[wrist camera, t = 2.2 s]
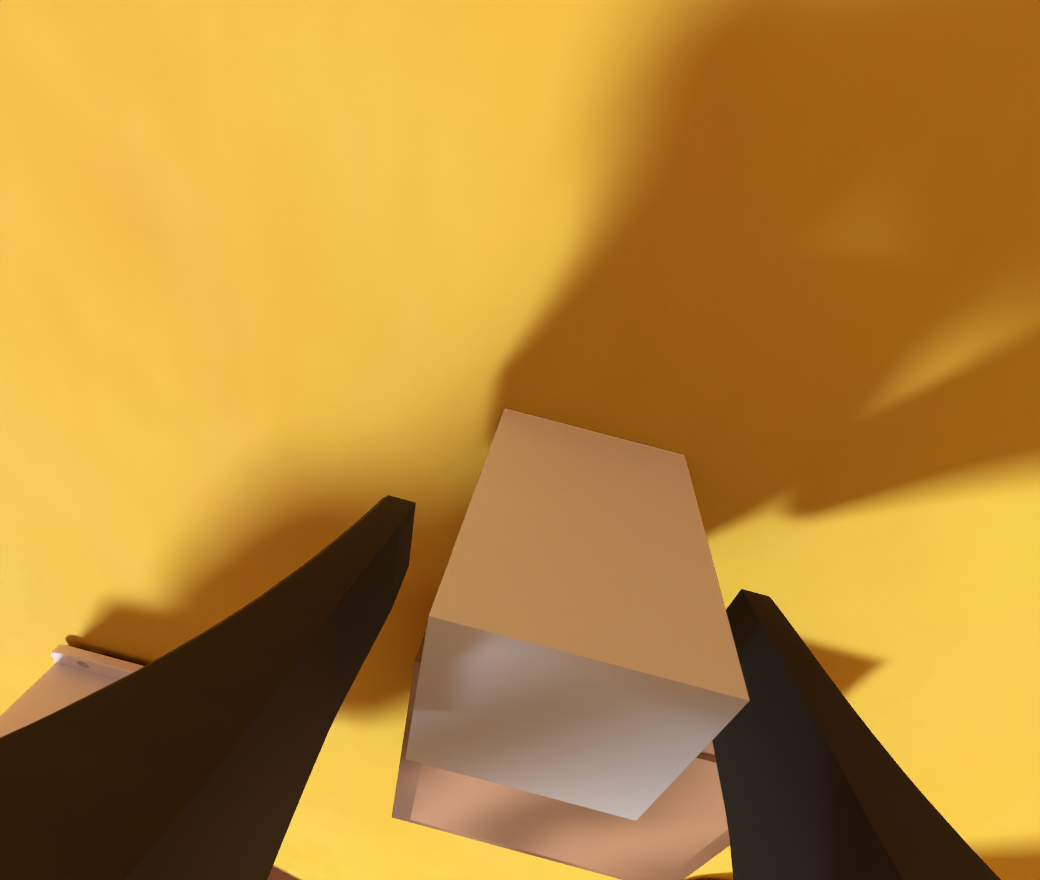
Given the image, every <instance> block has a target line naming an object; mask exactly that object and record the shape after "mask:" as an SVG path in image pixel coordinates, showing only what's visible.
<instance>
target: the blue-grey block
mask: <svg viewBox="0 0 1040 880" xmlns="http://www.w3.org/2000/svg"><path fill="white" fill-rule="evenodd" d="M749 701H750V700H749V696H748V692H747V689H746V685H745V681H744V677H743V673H742V670H741V666H740V662H739V658H738V654H737V651H736V647H735V643H734V639H733V636H732V632H731V628H730V624H729V620H728V617H727V613H726V609H725V605H724V602H723V598H722V594H721V590H720V586H719V583H718V579H717V575H716V571H715V568H714V564H713V560H712V556H711V552H710V549H709V545H708V541H707V537H706V534H705V530H704V526H703V522H702V518H701V515H700V511H699V507H698V503H697V499H696V496H695V492H694V488H693V484H692V481H691V477H690V473H689V469H688V465H687V462H686V458H685V455H683V454H679V453H675V452H671V451H668V450H664V449H660V448H656V447H652V446H648V445H645V444H641V443H637V442H633V441H629V440H625V439H622V438H618V437H614V436H610V435H606V434H602V433H599V432H595V431H591V430H587V429H583V428H579V427H575V426H572V425H568V424H564V423H560V422H556V421H552V420H549V419H545V418H541V417H537V416H533V415H529V414H526V413H522V412H518V411H514V410H510V409H506V408H504V411H503V414H502V417H501V419H500V422H499V425H498V428H497V430H496V433H495V436H494V439H493V441H492V444H491V447H490V449H489V452H488V455H487V458H486V460H485V463H484V466H483V469H482V471H481V474H480V477H479V480H478V482H477V485H476V488H475V490H474V493H473V496H472V499H471V501H470V504H469V507H468V510H467V512H466V515H465V518H464V521H463V523H462V526H461V529H460V531H459V534H458V537H457V540H456V542H455V545H454V548H453V551H452V553H451V556H450V559H449V562H448V564H447V567H446V570H445V572H444V575H443V578H442V581H441V583H440V586H439V589H438V592H437V594H436V597H435V600H434V603H433V605H432V608H431V611H430V613H429V617H428V623H427V629H426V635H425V641H424V647H423V654H422V660H421V666H420V672H419V678H418V684H417V690H416V697H415V703H414V709H413V715H412V721H411V727H410V733H409V740H408V746H407V752H406V758H405V759H406V760H410V761H414V762H418V763H421V764H425V765H429V766H433V767H436V768H440V769H444V770H448V771H451V772H455V773H459V774H463V775H466V776H470V777H474V778H478V779H481V780H485V781H489V782H493V783H496V784H500V785H504V786H507V787H511V788H515V789H519V790H522V791H526V792H530V793H534V794H537V795H541V796H545V797H549V798H552V799H556V800H560V801H564V802H567V803H571V804H575V805H579V806H582V807H586V808H590V809H594V810H597V811H601V812H605V813H608V814H612V815H616V816H620V817H623V818H627V819H631V820H635V821H636V820H637V819H638V818H639V817H640V816H641V815H642V814H643V813H644V812H645V811H646V810H647V809H648V808H649V807H650V806H651V805H652V804H653V802H654V801H655V800H656V799H657V798H658V797H659V796H660V795H661V794H662V793H663V792H664V791H665V790H666V789H667V788H668V787H669V786H670V784H671V783H672V782H673V781H674V780H675V779H676V778H677V777H678V776H679V775H680V774H681V773H682V772H683V771H684V770H685V769H686V768H687V767H688V765H689V764H690V763H691V762H692V761H693V760H694V759H695V758H696V757H697V756H698V755H699V754H700V753H701V752H702V751H703V750H704V749H705V747H706V746H707V745H708V744H709V743H710V742H711V741H712V740H713V739H714V738H715V737H716V736H717V735H718V734H719V733H720V732H721V731H722V729H723V728H724V727H725V726H726V725H727V724H728V723H729V722H730V721H731V720H732V719H733V718H734V717H735V716H736V715H737V714H738V713H739V712H740V710H741V709H742V708H743V707H744V706H745V705H746V704H747V703H748V702H749Z"/></svg>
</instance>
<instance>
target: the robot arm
mask: <svg viewBox="0 0 1040 880" xmlns="http://www.w3.org/2000/svg"><path fill="white" fill-rule="evenodd" d="M415 504H416V503H415V502H411V501H407V500H404V499H400V498H396V497H392V496H389V495H388V496H386V497H384V498H383V499H382V500H381V501H379V502H378V503H377V504H376V505H375V506H374V507H373V508H372V509H371V510H370V511H369V512H367V513H366V514H365V515H364V516H363V517H362V518H361V519H360V520H358V521H357V522H356V523H355V524H354V525H353V526H351V527H350V528H349V529H348V530H347V531H346V532H344V533H343V534H342V535H341V536H340V537H338V538H337V539H336V540H335V541H333V542H332V543H331V544H330V545H328V546H327V547H326V548H325V549H323V550H322V551H321V552H320V553H318V554H317V555H316V556H315V557H313V558H312V559H311V560H310V561H308V562H307V563H306V564H304V565H303V566H302V567H300V568H299V569H297V570H296V571H295V572H293V573H292V574H291V575H289V576H288V577H286V578H285V579H284V580H282V581H281V582H279V583H278V584H277V585H275V586H274V587H273V588H271V589H270V590H268V591H267V592H266V593H264V594H263V595H261V596H260V597H258V598H257V599H255V600H254V601H252V602H251V603H249V604H248V605H246V606H245V607H243V608H242V609H240V610H239V611H237V612H236V613H234V614H233V615H231V616H229V617H228V618H226V619H225V620H223V621H221V622H220V623H218V624H217V625H215V626H213V627H212V628H210V629H208V630H207V631H205V632H204V633H202V634H200V635H198V636H197V637H195V638H193V639H191V640H190V641H188V642H186V643H185V644H183V645H181V646H179V647H178V648H176V649H174V650H172V651H171V652H169V653H167V654H166V655H164V656H162V657H160V658H159V659H157V660H155V661H153V662H151V663H149V664H148V665H146V666H142V665H139V664H135V663H131V662H128V661H124V660H120V659H116V658H113V657H109V656H105V655H102V654H98V653H94V652H90V651H87V650H83V649H79V648H75V647H72V646H68V645H59V646H57V647H56V648H55V649H54V650H53V651H52V652H51V656H52V658H53V659H54V661H55V663H56V664H55V665H54V666H52V667H51V668H50V669H49V670H48V671H47V672H46V673H45V674H44V675H43V676H42V677H41V678H40V679H39V680H38V681H37V682H36V683H35V684H34V685H33V686H31V687H30V688H29V689H28V690H27V691H26V692H25V693H24V694H23V695H22V696H21V697H20V698H19V699H18V700H17V701H16V702H15V703H14V704H13V705H12V706H10V707H9V708H8V709H7V710H6V711H5V712H4V713H3V714H2V715H1V716H0V880H267V879H268V876H269V874H270V871H271V869H272V866H273V864H274V861H275V859H276V856H277V854H278V851H279V849H280V846H281V844H282V841H283V839H284V836H285V834H286V832H287V829H288V827H289V824H290V822H291V819H292V817H293V815H294V812H295V810H296V807H297V805H298V802H299V800H300V798H301V795H302V793H303V790H304V788H305V785H306V783H307V781H308V778H309V776H310V774H311V771H312V769H313V766H314V764H315V762H316V759H317V757H318V755H319V752H320V750H321V748H322V745H323V743H324V741H325V738H326V736H327V733H328V731H329V729H330V727H331V725H332V723H333V721H334V719H335V717H336V714H337V712H338V710H339V708H340V706H341V704H342V702H343V701H344V699H345V697H346V695H347V693H348V691H349V689H350V687H351V685H352V683H353V682H354V680H355V678H356V676H357V674H358V672H359V670H360V668H361V666H362V664H363V663H364V661H365V659H366V657H367V655H368V653H369V651H370V649H371V647H372V646H373V644H374V642H375V640H376V638H377V636H378V634H379V632H380V630H381V628H382V626H383V624H384V623H385V621H386V619H387V617H388V615H389V613H390V611H391V609H392V607H393V604H394V602H395V599H396V597H397V594H398V592H399V589H400V587H401V584H402V581H403V579H404V576H405V574H406V571H407V569H408V566H409V557H410V548H411V540H412V531H413V522H414V513H415ZM726 613H727V617H728V620H729V624H730V628H731V632H732V636H733V639H734V643H735V647H736V651H737V654H738V658H739V662H740V666H741V670H742V673H743V677H744V681H745V685H746V689H747V692H748V696H749V700H750V701H749V702H748V703H747V704H746V705H745V706H744V707H743V708H742V709H741V710H740V712H739V713H738V714H737V715H736V716H735V717H734V718H733V719H732V720H731V721H730V722H729V723H728V724H727V725H726V726H725V727H724V728H723V729H722V731H721V732H720V733H719V734H718V735H717V736H716V737H715V738H714V739H713V740H712V742H713V748H714V753H715V758H716V764H717V769H718V774H719V780H720V785H721V790H722V796H723V801H724V806H725V812H726V818H727V825H728V832H729V838H730V847H731V858H732V868H733V878H734V880H1001V879H1000V878H999V877H998V876H997V875H996V874H995V873H994V872H993V871H992V870H991V869H990V868H989V867H988V866H987V865H986V864H985V863H984V862H983V860H982V859H981V858H980V857H979V856H978V855H977V854H976V853H975V852H974V851H973V850H972V849H971V848H970V847H969V845H968V844H967V843H966V842H965V841H964V840H963V839H962V838H961V837H960V835H959V834H958V833H957V832H956V831H955V830H954V829H953V828H952V827H951V825H950V824H949V823H948V822H947V821H946V820H945V819H944V818H943V816H942V815H941V814H940V813H939V812H938V811H937V810H936V809H935V808H934V806H933V805H932V804H931V803H930V802H929V801H928V800H927V799H926V797H925V796H924V795H923V794H922V793H921V792H920V790H919V789H918V788H917V787H916V786H915V785H914V783H913V782H912V781H911V780H910V779H909V778H908V776H907V775H906V774H905V773H904V772H903V770H902V769H901V768H900V767H899V765H898V764H897V763H896V762H895V761H894V759H893V758H892V757H891V756H890V754H889V753H888V752H887V751H886V750H885V748H884V747H883V746H882V745H881V743H880V742H879V741H878V740H877V738H876V737H875V736H874V735H873V734H872V732H871V731H870V730H869V728H868V727H867V726H866V725H865V723H864V722H863V721H862V719H861V718H860V717H859V716H858V714H857V713H856V712H855V710H854V709H853V708H852V707H851V705H850V704H849V703H848V701H847V700H846V699H845V697H844V696H843V695H842V693H841V692H840V691H839V689H838V688H837V687H836V685H835V684H834V683H833V681H832V680H831V679H830V677H829V676H828V675H827V673H826V672H825V671H824V669H823V668H822V666H821V665H820V664H819V662H818V661H817V660H816V658H815V657H814V656H813V654H812V653H811V651H810V650H809V649H808V647H807V646H806V645H805V643H804V642H803V640H802V639H801V638H800V636H799V635H798V634H797V632H796V631H795V630H794V628H793V627H792V625H791V624H790V623H789V621H788V620H787V619H786V617H785V616H784V615H783V613H782V612H781V611H780V609H779V608H778V607H777V606H776V604H775V603H774V602H773V600H772V599H771V598H770V597H769V596H765V595H762V594H758V593H754V592H750V591H747V590H743V589H741V591H740V592H739V593H738V595H737V596H736V597H735V599H734V600H733V601H732V603H731V604H730V605H729V607H728V608H727V609H726Z"/></svg>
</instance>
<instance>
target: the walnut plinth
mask: <svg viewBox="0 0 1040 880" xmlns="http://www.w3.org/2000/svg"><path fill="white" fill-rule="evenodd" d="M425 635H426V633H425ZM425 635H424V638H423V641H422V644H421V646H420V649H419V652H418V655H417V657H416V660H415V665H414V672H413V679H412V685H411V692H410V699H409V705H408V712H407V719H406V725H405V732H404V739H403V745H402V752H401V759H400V765H399V772H398V779H397V785H396V792H395V799H394V805H393V812H392V817H393V818H396V819H400V820H404V821H408V822H411V823H415V824H419V825H422V826H426V827H430V828H433V829H437V830H441V831H445V832H448V833H452V834H456V835H459V836H463V837H467V838H470V839H474V840H478V841H482V842H485V843H489V844H493V845H496V846H500V847H504V848H507V849H511V850H515V851H518V852H522V853H526V854H530V855H533V856H537V857H541V858H544V859H548V860H552V861H555V862H559V863H563V864H567V865H570V866H574V867H578V868H581V869H585V870H589V871H592V872H596V873H600V874H603V875H607V876H611V877H615V878H618V879H622V880H683V879H685V878H686V877H687V876H689V875H690V874H691V873H693V872H694V871H695V870H697V869H698V868H699V867H701V866H702V865H704V864H705V863H706V862H708V861H709V860H710V859H712V858H713V857H714V856H716V855H717V854H718V853H720V852H721V851H722V850H724V849H725V848H727V847H728V846H729V845H730V838H729V832H728V825H727V818H726V812H725V806H724V801H723V796H722V790H721V785H720V780H719V774H718V769H717V764H716V758H715V753H714V748H713V742H712V741H711V742H710V743H709V744H708V745H707V746H706V747H705V749H704V750H703V751H702V752H701V753H700V754H699V755H698V756H697V757H696V758H695V759H694V760H693V761H692V762H691V763H690V764H689V765H688V767H687V768H686V769H685V770H684V771H683V772H682V773H681V774H680V775H679V776H678V777H677V778H676V779H675V780H674V781H673V782H672V783H671V784H670V786H669V787H668V788H667V789H666V790H665V791H664V792H663V793H662V794H661V795H660V796H659V797H658V798H657V799H656V800H655V801H654V802H653V804H652V805H651V806H650V807H649V808H648V809H647V810H646V811H645V812H644V813H643V814H642V815H641V816H640V817H639V818H638V819H637V820H636V821H635V820H631V819H627V818H623V817H620V816H616V815H612V814H608V813H605V812H601V811H597V810H594V809H590V808H586V807H582V806H579V805H575V804H571V803H567V802H564V801H560V800H556V799H552V798H549V797H545V796H541V795H537V794H534V793H530V792H526V791H522V790H519V789H515V788H511V787H507V786H504V785H500V784H496V783H493V782H489V781H485V780H481V779H478V778H474V777H470V776H466V775H463V774H459V773H455V772H451V771H448V770H444V769H440V768H436V767H433V766H429V765H425V764H421V763H418V762H414V761H410V760H406V759H405V758H406V752H407V746H408V740H409V733H410V727H411V721H412V715H413V709H414V703H415V697H416V690H417V684H418V678H419V672H420V666H421V660H422V654H423V647H424V641H425Z"/></svg>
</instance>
